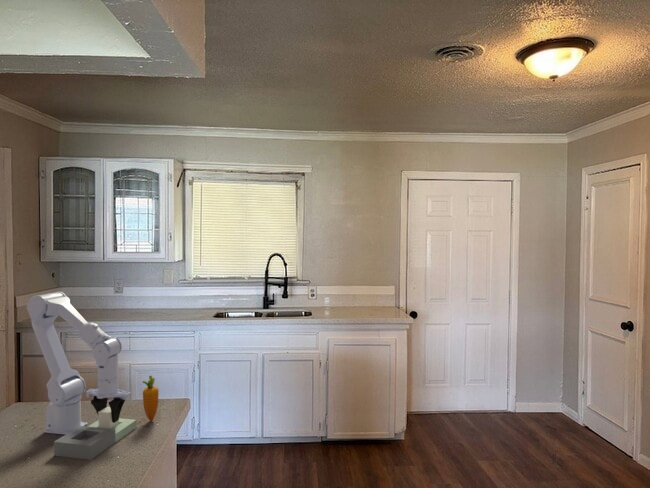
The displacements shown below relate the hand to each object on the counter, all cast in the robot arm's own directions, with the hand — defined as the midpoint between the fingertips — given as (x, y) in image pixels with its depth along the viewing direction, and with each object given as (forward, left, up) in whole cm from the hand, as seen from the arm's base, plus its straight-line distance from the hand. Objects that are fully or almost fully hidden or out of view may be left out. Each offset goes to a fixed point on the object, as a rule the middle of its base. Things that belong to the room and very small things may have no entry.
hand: (109, 420), depth 136 cm
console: (0, -5, -4) cm, 6 cm away
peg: (0, 0, -2) cm, 2 cm away
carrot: (+8, +10, -4) cm, 13 cm away
